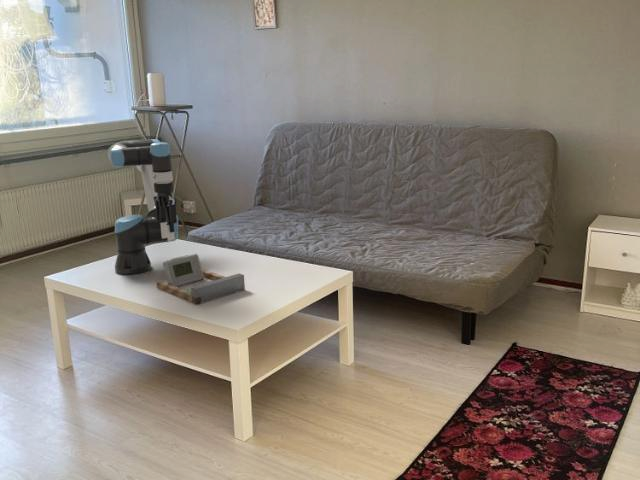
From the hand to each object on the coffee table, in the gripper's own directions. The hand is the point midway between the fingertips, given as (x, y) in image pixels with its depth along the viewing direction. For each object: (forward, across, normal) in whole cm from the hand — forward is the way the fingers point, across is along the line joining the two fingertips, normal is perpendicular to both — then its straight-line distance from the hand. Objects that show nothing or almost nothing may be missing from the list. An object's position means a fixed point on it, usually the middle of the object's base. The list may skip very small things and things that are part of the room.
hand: (168, 238), depth 258 cm
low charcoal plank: (+17, +34, 0) cm, 37 cm away
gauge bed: (+17, +21, 0) cm, 27 cm away
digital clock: (+17, +10, 0) cm, 20 cm away
